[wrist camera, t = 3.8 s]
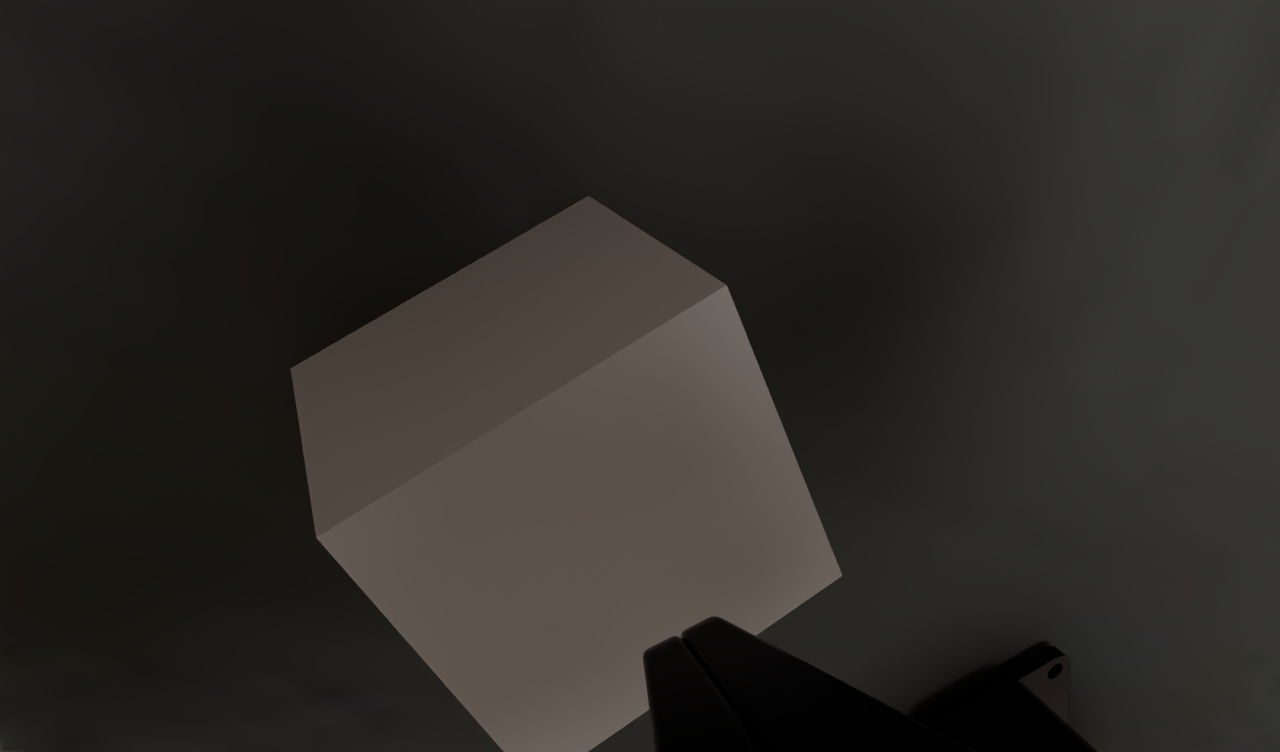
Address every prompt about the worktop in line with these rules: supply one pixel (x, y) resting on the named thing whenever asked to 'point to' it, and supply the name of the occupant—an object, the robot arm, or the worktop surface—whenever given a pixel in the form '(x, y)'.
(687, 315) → the grey block
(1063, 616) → the worktop surface
